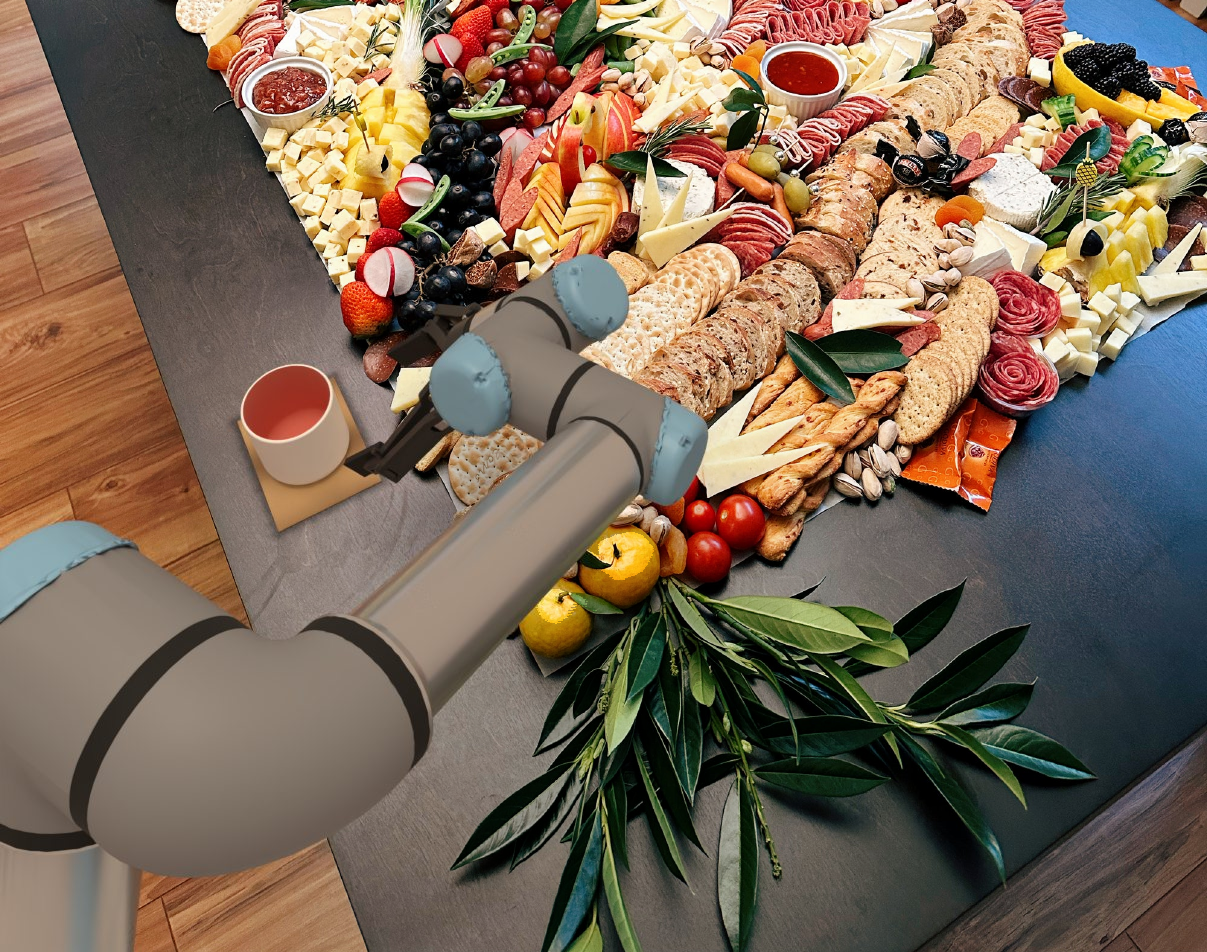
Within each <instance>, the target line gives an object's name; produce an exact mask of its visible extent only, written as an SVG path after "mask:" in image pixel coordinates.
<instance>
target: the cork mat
mask: <svg viewBox="0 0 1207 952" xmlns="http://www.w3.org/2000/svg"><path fill="white" fill-rule="evenodd" d="M328 379H329V380H330V382H331V385H332V387H333V390H334V392H335V395H336V398H337V400H338V403H339V405H340V408H341V411H342V413H343V416H344V418H345V421H346V424H347V426H348V430H349V445H348V449H347V452H346V454H345V456H344V458H343V460H342V461H341V463H340V464H339V465H338V466H337V468H336V469H335V470H334V471H332V472H331V473H330V474H329V475H327V476H326V477H324V478H322V479H320V480H318V481H316V482H313V483H309V484H304V485H291V484H286V483H283V482H280V481H278V480H276V479H275V478H273V477H272V476H271V475H270V474H269V473H268V472H267V470H266V469H265V467H264V466H263V464H262V462H261V460H260V458H259V456H258V454H257V452H256V450H255V448H254V446H253V444H252V442H251V440H250V438H249V436H248V434H247V432H246V430H245V428H244V426H243V424H242V420H241V419H239V420H237V421H236V423H237V425H238V428H239V430H240V433H241V436H242V439H243V441H244V443H245V446H246V449H247V452H248V454H249V457H250V459H251V462H252V465H253V467H254V471H255V474H256V475H257V478H258V480H259V484H260V486H261V489H262V492H263V494H264V497H265V499H266V502H267V505H268V507H269V510H270V513H271V515H272V518H273V521H274V524H275V527H276V529H277V531H278V533H281V532H283V531H286V530H287V529H289V528H291V527H293V526H295V525H297V524H299V523H302V522H303V521H305V520H307V519H309V518H311V517H314V516H315V515H317V514H319V513H321V512H323V511H325V510H327V509H330V508H331V507H333V506H335V505H337V504H339V503H341V502H344V501H345V500H348V499H350V498H352V497H353V496H356V495H357V494H359V493H362V492H363V491H366V490H368V489H369V488H371V487H374V486H376V485H377V484H380V483H382V482H383V480H382V477H381V475H380V474H377V475H375V474H371V475H369V476H367V477H363V476H361V475H360V474H358V473H356V472H354V471H353V470H351V469H349V468H348V467H346V466H344V465H343V464H344V462H345V459H346V458H348V457H350V456H352V455H354V454H356V453H358V452H360V451H362V450H364V449H365V448H367V446H366V443H365V442H364V439H363V437H362V435H361V433H360V430H359V428H358V426H357V424H356V421H355V420H354V418H353V415H352V414H351V411H350V408H349V407H348V404H347V403H346V400H345V398H344V396H343V394H342V391H341V390H340V387H339V385H338V383H337V381H336V379H335V376H332V377H330V378H328Z"/></svg>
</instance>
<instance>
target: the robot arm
mask: <svg viewBox="0 0 1207 952" xmlns="http://www.w3.org/2000/svg"><path fill="white" fill-rule="evenodd" d="M629 311H630V296H629V291H628V288H627V286H626V284H625V281H624V280H623V279H622V277H620V274H618V271H617V269H616V268H615V266H613V265H612V264H611V263H610V262H609V261H607V260H606V259H604V258H603V257H601V256H599V255H595V254H591V253H589V254H588V253H582V254H578V255H576V256H574V257H572V258H570V259H568V260H566V261H561V262H558V263H557V264H556V265H555V266H554V267H553V268H551V269H550V270H549V271H546V272H545V273H543V274H541V275H540V276H538V277H536V278H535V279H533V280H531V281H529V282H528V283H526V284H525V285H523V286H522V287H520V288H518V289H517V290H515V291H513V292H511V293H509V294H506V295H505V296H503V297H501V298H499V299H497V300H496V301H494V302H492V303H490V304H488V305H486V306H484V307H483V306H481V305H480V304H478V303H477V302H475V301H474V302H472V303H469V304H467V305H465V306H462V305H453V304H443V303H437V304H436V305H435V306H434V308H433V310H432V314H433V315H434V317H433V319H428V321H426V322H425V324H424V327H422V328H421V329H419V330H417V331H416V332H414V333H413V334H412V335H411V336H409V337H407V338H405V339H403V340H402V341H400V342H398V343H397V344H396V345H393V346H392V347H390V348H389V349H388V350H387V352H386V356H387V357H388V358H390V359H391V360H393V361H394V362H396V363H398V364H399V365H401V366H403V367H404V368H408V367H410V366H411V365H413V364H414V363H416V362H418V361H420V360H421V359H423V358H425V357H427V356H429V355H431V354H432V353H434V352H436V351H439V350H441V352H442V353H441V354H440V356H439V357H438V358H437V359H436V361H435V362H434V364H433V365H432V366H431V369H430V373H429V376H428V381H427V383H426V384H425V385H424V386H423V387H422V388H421V390H420V391H419V393H418V394H417V398H418V401H417V402H416V403H415V405H414V406H413V408H412V409H411V410H410V411H409V412H408V413H407V415H406V416H405V417H404V418H403V419H402V421H401V422H400V423H399V425H398V426H397V427H396V428H395V430H393V432H392V434H390V436H389V437H388V438H387V439H386V441H385V442H383V441H381V440H379V441H377V442H375V443H373V444H371V445H370V446H366V448H365V449H364V450H362V451H360V452H358V453H356V454H354V455H352V456H350V457H348V458H346V459H345V462H344V464H343V465H344V466H346V467H348V468H349V469H351V470H353V471H354V472H356V473H358V474H360V475H361V476H363V477H367V476H369V475H371V474H375V475H377V474H379V476H382V477H383V478H385V479H387V480H389V481H390V482H392V483H394V484H398V483H399V482H400V481H401V480H402V479H404V477H406V475H408V473H409V472H411V470H412V469H413V468H414V467H416V465H417V464H419V462H420V461H421V460H423V459H424V457H426V455H428V454H429V452H430V451H432V450H433V448H434V447H435V446H437V445H438V444H439V443H440V442H441V441H442V440H443V439H444V438H445V437H446V436H448V435H450V434H451V433H453V432H455V431H456V432H458V433H459V434H461V435H463V436H466V437H479V438H485V437H488V436H491V435H492V434H494V433H495V432H497V431H500V430H502V429H503V428H505V426H506V425H509V426H511V427H513V428H514V429H516V430H518V431H520V432H522V433H524V434H526V435H528V436H530V437H531V438H533V439H535V440H537V441H539V442H541V443H543V445H541V447H539V448H538V449H536V451H534V453H532V454H531V455H530V456H529V457H528V458H527V459H526V460H524V461H523V462H522V463H521V464H519V466H517V468H515V469H514V470H512V472H510V473H509V474H508V475H507V476H506V477H505V478H504V479H502V480H501V481H500V482H498V484H496V485H495V486H494V487H493V488H492V489H491V490H490V491H488V492H487V493H486V494H485V495H484V496H483V497H481V498H480V499H479V500H478V501H477V502H476V503H474V505H472V506H471V507H470V508H468V510H466V511H465V512H464V513H463V514H462V515H461V516H460V517H458V519H456V520H455V521H454V522H452V524H451V525H449V526H448V527H447V528H446V529H445V530H443V532H441V533H440V534H439V535H438V536H436V537H435V538H434V539H433V540H432V541H431V542H430V543H429V544H427V545H426V546H425V547H424V548H423V549H422V550H420V551H419V552H418V553H416V555H414V556H413V557H412V558H411V559H410V560H409V561H408V562H407V563H405V564H404V565H403V566H402V567H400V568H399V570H397V571H396V572H395V573H394V574H393V575H392V576H391V577H389V578H388V579H387V580H386V581H385V582H383V583H382V584H381V585H380V586H379V587H378V588H377V589H375V590H374V591H373V592H372V593H371V594H370V595H368V596H367V597H366V598H365V599H364V600H362V602H361V603H359V604H358V605H357V606H356V607H355V608H353V609H352V610H351V611H350V612H349V613H348V614H347V613H341V612H331V613H326V614H323V615H320V616H318V617H316V618H314V619H313V620H312V621H311V622H309V623H308V624H307V625H306V626H305V627H304V628H303V629H302V630H300V631H299V632H298V633H296V634H295V635H294V636H293V637H291V638H285V639H271V638H268V637H265V636H263V635H261V634H259V633H257V632H256V631H255V630H253V629H251V628H250V627H249V626H247V625H246V624H245V623H243V622H242V621H240V620H239V619H238V618H237V617H235V616H234V615H232V614H230V612H228V611H226V610H225V609H224V608H222V607H220V606H219V605H218V604H216V603H215V602H213V601H212V600H210V599H209V598H207V596H205V595H203V594H201V593H200V592H199V591H197V590H196V589H194V588H193V587H191V586H190V585H189V584H187V583H186V582H184V581H183V580H181V579H180V578H178V577H177V576H175V575H174V574H172V573H171V572H169V571H168V570H166V569H165V568H164V567H163V566H161V565H159V564H158V563H156V562H155V561H154V560H152V559H151V558H149V557H148V556H146V555H145V554H143V553H142V552H141V551H140V548H139V545H138V544H137V543H136V542H134V541H133V540H131V539H128V538H127V539H126V538H121V537H120V536H117V535H116V534H114V533H112V532H111V531H109V530H108V529H106V528H104V527H103V526H101V525H98V524H96V523H94V522H90V521H86V520H65V521H59V522H55V523H50V524H48V525H45V526H42V527H40V528H37V529H35V530H33V531H30V532H28V533H26V534H24V535H22V536H21V537H19V538H17V539H15V540H14V541H13V542H11V543H9V544H7V545H6V546H5V547H3V548H2V549H1V550H0V952H134V950H135V943H136V934H137V927H138V926H137V925H138V915H139V907H140V898H141V889H142V880H143V872H146V873H149V874H152V875H155V876H161V877H168V878H169V877H170V878H179V879H182V878H183V879H184V878H186V879H187V878H188V879H189V878H191V879H192V878H193V879H196V878H197V879H198V878H209V877H218V876H224V875H231V874H235V873H241V872H244V871H247V870H251V869H255V868H259V867H262V866H265V865H268V864H272V863H273V862H274V863H275V862H276V861H280V860H282V859H285V858H289V857H291V856H293V855H295V854H297V853H299V852H302V851H303V850H305V849H307V848H309V847H312V846H314V845H316V844H318V843H319V842H322V841H323V840H324V841H325V840H326V839H328V838H331V836H333V835H335V834H336V833H338V832H339V831H341V830H343V829H344V828H346V827H347V826H349V825H350V824H352V823H353V822H355V821H356V820H358V819H359V818H361V817H362V816H364V815H365V814H367V813H368V812H369V811H370V810H371V809H373V808H374V807H375V806H376V805H377V804H378V803H379V802H381V801H382V800H383V799H384V798H385V797H387V796H388V795H389V794H390V793H391V792H393V790H395V788H396V787H397V786H398V785H399V784H400V783H401V782H402V781H403V780H404V778H405V777H407V776H408V774H409V773H410V772H411V771H412V770H413V769H414V768H415V766H416V765H417V764H418V763H419V762H420V761H421V760H422V759H423V757H424V756H425V755H426V754H427V752H428V751H429V748H430V746H431V744H432V740H433V735H434V718H435V716H436V715H437V714H438V713H439V712H440V711H441V710H442V709H443V708H444V707H445V705H447V703H448V702H449V701H450V700H451V699H452V698H453V697H454V696H455V695H456V694H457V692H458V691H459V690H460V689H461V688H462V687H463V686H464V685H465V684H466V683H467V681H469V680H470V678H471V677H472V676H473V675H474V674H475V673H476V672H477V671H478V669H479V668H480V667H481V666H482V665H483V664H484V663H485V662H486V661H487V660H488V659H489V658H490V657H491V655H492V654H494V652H495V651H496V650H497V649H498V648H499V647H500V646H501V644H502V643H503V642H504V641H505V640H506V639H507V638H508V637H509V636H510V635H511V634H512V633H513V632H514V630H516V628H517V627H518V626H519V625H520V624H521V623H522V622H523V621H524V619H525V618H527V616H528V615H529V614H531V612H532V611H533V610H534V608H536V606H538V604H540V602H541V601H542V600H543V599H544V598H545V597H546V596H547V594H549V592H550V591H551V590H552V589H553V588H554V587H555V586H556V585H557V584H558V582H559V581H560V580H561V579H562V578H563V577H564V576H565V575H566V574H567V573H568V572H569V571H570V570H571V569H572V567H574V565H575V564H576V563H577V562H578V561H579V560H580V559H581V557H583V556H584V554H585V553H586V552H588V550H589V549H590V548H591V547H592V546H593V545H594V543H595V542H596V541H597V540H598V539H599V538H600V537H601V536H602V535H603V534H604V532H606V530H607V529H608V528H609V527H610V526H611V525H612V524H613V523H614V522H615V521H616V520H617V518H619V516H621V514H622V513H623V512H624V511H625V509H626V508H628V506H629V505H630V504H632V502H633V501H634V500H635V499H636V498H637V497H639V496H641V497H642V500H645V501H650V502H653V503H655V504H658V505H659V506H663V507H668V506H671V505H674V504H676V503H678V502H679V501H680V500H681V499H682V498H683V497H684V496H685V495H686V493H687V492H688V490H689V488H690V487H691V485H692V483H693V482H694V481H695V478H696V476H697V474H698V472H699V470H700V468H701V465H702V463H703V460H704V457H705V454H706V450H707V446H708V442H709V428H708V423H707V422H706V421H705V419H704V418H703V417H702V416H701V415H700V414H698V413H696V412H694V411H693V410H691V409H689V408H688V407H685V406H684V405H682V404H680V403H679V402H677V401H675V400H673V399H672V397H671V396H669V395H667V394H665V395H664V394H662V393H660V392H657V391H656V390H653V389H651V388H649V387H647V386H645V385H642V384H641V383H638V382H637V381H634V380H632V379H630V378H628V377H626V376H624V375H622V374H619V373H617V372H615V371H614V370H611V369H609V368H607V367H604V366H603V365H601V364H599V363H596V362H594V361H593V360H591V359H588V358H587V357H585V356H583V355H580V353H581V352H582V351H584V350H585V349H586V348H588V347H590V346H592V345H593V344H594V343H597V342H599V343H601V342H603V341H605V339H607V338H608V336H610V335H612V334H613V333H615V332H616V331H618V330H619V329H621V328H622V326H623V325H624V324H625V323H626V321H627V318H628V316H629ZM449 325H450V326H452V327H451V329H450V330H448V327H449Z"/></svg>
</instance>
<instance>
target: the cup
mask: <svg viewBox="0 0 1207 952" xmlns="http://www.w3.org/2000/svg"><path fill="white" fill-rule="evenodd" d="M329 379H330V378H328V375H326V374H325V373H324V372H323V371H322V370H320V369H319V368H317V367H315V366H311V365H309V364H305V363H304V364H302V363H292V364H285V365H281V366H278V367H275V368H273V369H271V370H269V371H267V372H265V373H264V374H262V375H261V376H260V377H258V378H257V379H256V380H255V381H254V382H253V383H252V384H251V385H250V387H249V388H248V389H247V391H246V392H245V394H244V397H243V399H242V401H241V405H240V420H242V424H243V426H244V428H245V430H246V432H247V434H248V436H249V438H250V440H251V442H252V444H253V446H254V448H255V450H256V452H257V454H258V456H259V458H260V460H261V462H262V464H263V466H264V467H265V469H266V470H267V472H268V473H269V474H270V475H271V476H272V477H273V478H275V479H276V480H278V481H280V482H283V483H286V484H291V485H304V484H309V483H313V482H316V481H318V480H320V479H322V478H324V477H326V476H327V475H329V474H330V473H331V472H332V471H334V470H335V469H336V468H337V466H338V465H339V464H340V463H341V461H342V460H343V458H344V456H345V454H346V452H347V449H348V445H349V430H348V426H347V424H346V421H345V418H344V416H343V413H342V411H341V408H340V405H339V403H338V400H337V398H336V395H335V392H334V390H333V387H332V385H331V382H330V380H329Z"/></svg>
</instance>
